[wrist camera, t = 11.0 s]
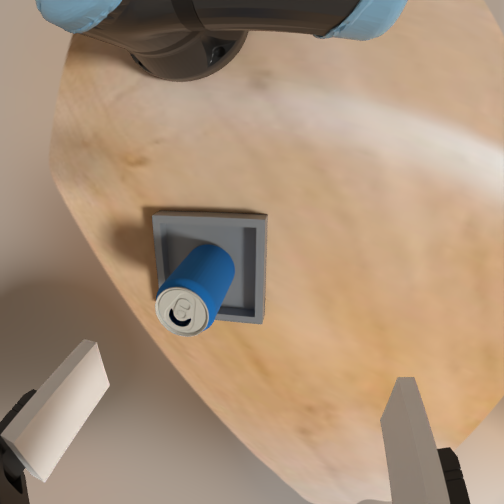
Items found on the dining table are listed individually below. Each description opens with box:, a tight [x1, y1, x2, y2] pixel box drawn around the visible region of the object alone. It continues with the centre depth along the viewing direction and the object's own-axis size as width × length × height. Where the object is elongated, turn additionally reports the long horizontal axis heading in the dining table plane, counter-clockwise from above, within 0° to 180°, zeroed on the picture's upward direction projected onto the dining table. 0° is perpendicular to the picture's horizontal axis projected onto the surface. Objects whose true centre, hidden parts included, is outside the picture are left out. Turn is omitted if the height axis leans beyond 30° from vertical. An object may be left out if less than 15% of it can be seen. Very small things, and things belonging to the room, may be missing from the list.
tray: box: [152, 211, 268, 324], centre depth 42 cm, size 14×14×2 cm
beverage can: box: [155, 244, 235, 337], centre depth 37 cm, size 6×6×12 cm
